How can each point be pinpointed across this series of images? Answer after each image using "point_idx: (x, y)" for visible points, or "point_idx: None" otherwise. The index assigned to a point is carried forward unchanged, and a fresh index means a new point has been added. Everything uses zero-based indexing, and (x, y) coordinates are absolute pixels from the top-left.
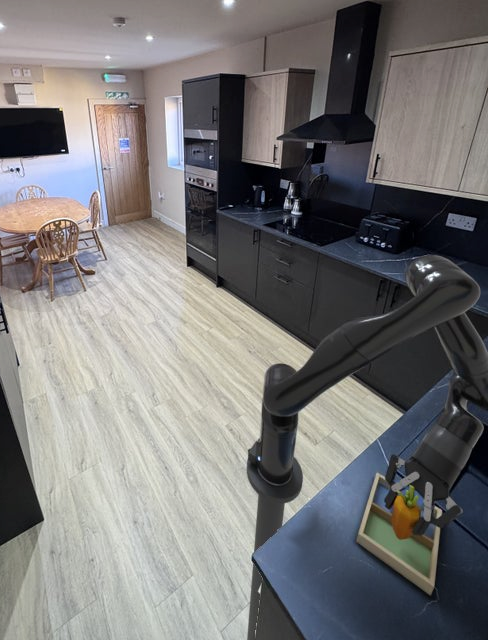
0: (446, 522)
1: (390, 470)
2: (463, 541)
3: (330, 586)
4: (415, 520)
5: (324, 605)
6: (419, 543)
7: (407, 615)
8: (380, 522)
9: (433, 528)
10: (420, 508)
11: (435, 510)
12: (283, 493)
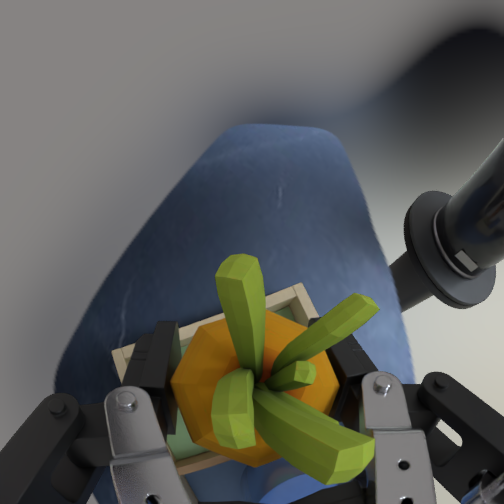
0: (16, 436)
1: (482, 417)
2: None
3: (255, 182)
4: (181, 359)
5: (241, 157)
6: (202, 449)
7: (139, 272)
8: None
9: None
10: None
11: None
12: (419, 222)
